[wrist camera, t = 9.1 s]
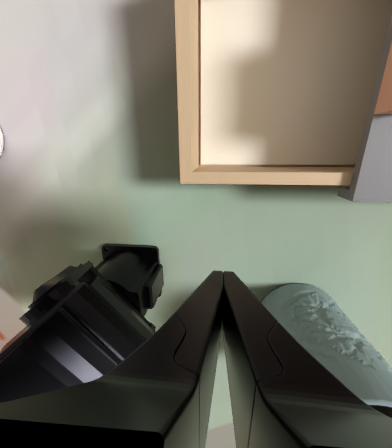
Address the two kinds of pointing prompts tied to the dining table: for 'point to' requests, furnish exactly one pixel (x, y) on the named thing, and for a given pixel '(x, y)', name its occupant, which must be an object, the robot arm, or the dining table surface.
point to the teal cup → (333, 341)
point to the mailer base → (275, 88)
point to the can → (1, 141)
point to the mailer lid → (376, 138)
